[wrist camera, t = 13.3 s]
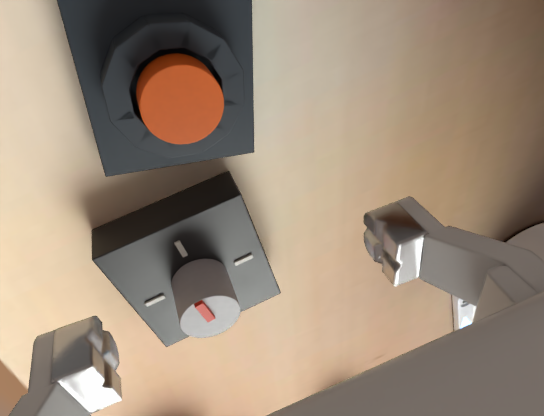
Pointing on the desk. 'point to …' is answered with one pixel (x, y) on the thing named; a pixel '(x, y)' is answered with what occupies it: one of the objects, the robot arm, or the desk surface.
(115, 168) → the button block
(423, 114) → the desk surface
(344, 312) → the desk surface
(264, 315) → the desk surface
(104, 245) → the dial panel
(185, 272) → the timer dial
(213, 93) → the power button
